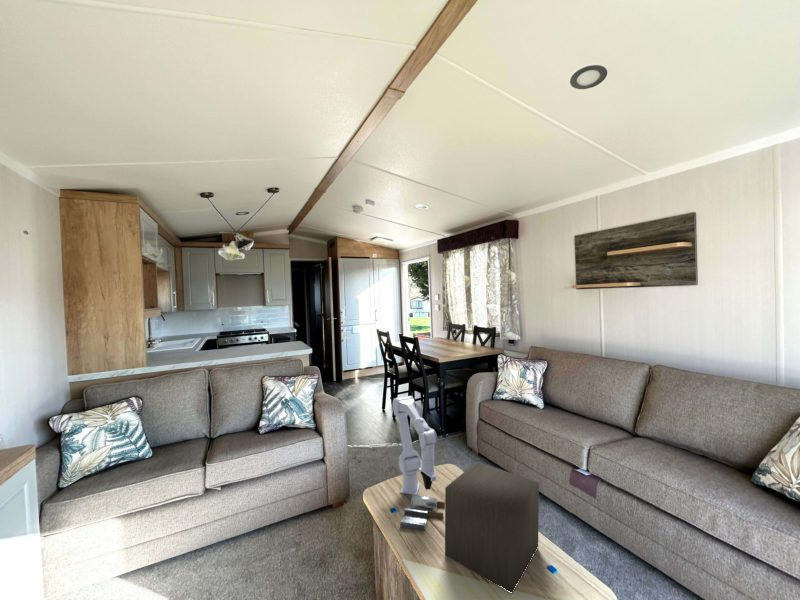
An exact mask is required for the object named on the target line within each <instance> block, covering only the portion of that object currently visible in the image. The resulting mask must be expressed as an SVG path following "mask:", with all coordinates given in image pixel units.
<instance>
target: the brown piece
mask: <svg viewBox="0 0 800 600" xmlns="http://www.w3.org/2000/svg"><path fill="white" fill-rule="evenodd" d="M437 507H443V508H445V500H437ZM427 511H428V517H434V518H440V519H443V518H444V511H431V510H427Z"/></svg>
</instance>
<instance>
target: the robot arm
mask: <svg viewBox="0 0 800 600" xmlns="http://www.w3.org/2000/svg"><path fill="white" fill-rule="evenodd" d="M391 404H392V410H393V416H395V417H396V419H397V424H398V429H399V434H400V435H399V436H400V440H401V447H402V451H401V453H400V455H399V456H398V468H399V471H400V472H401V473H402V487H401V489H400V494H406V495H411V496H412V495H418V493H419V491H420V487H421V483H419V472H420V474H421V476H422V482H423V485H424V489H425V491H427V490H431V487H432V485H433V482H436V481H437V476H436V468H435V449H436V448H435V444H436V443H437V442H438V435H437V432H436V431H435V429H433V428H432V427H430V426H429V425H428V423H427V422H426V420H425V419H424V417H421V416H420V414H419V413H418V411H417V409H416V403H415V399H414V397H413V396H412V395H409V396H408V395H407V396H401V397H395V398H393V400H392V403H391ZM408 417H409V418H410V419H411V420H412V421H413V423H412V425H413V428H414V429H415V431H416V434H417V435H418V440H419V447H420V448H421V453H420V454H419V452H418V451H416V450H415V449H414V446H413V442H412V436H411V431H410V430H411V429H410V425H409V420H408ZM420 455H421V456H420Z"/></svg>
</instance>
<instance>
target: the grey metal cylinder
mask: <svg viewBox="0 0 800 600" xmlns="http://www.w3.org/2000/svg"><path fill="white" fill-rule="evenodd" d="M437 501H438V498H437V497H431V496H424V495H418V494H417V495H412V494H411V499H410V509H415V510H422V511H427V510H431V511H437V510H438V506H437Z"/></svg>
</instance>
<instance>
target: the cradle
mask: <svg viewBox="0 0 800 600" xmlns="http://www.w3.org/2000/svg"><path fill="white" fill-rule="evenodd" d="M403 511H404V512H403V513H404V514H403V516H402V519H401V520H400V524H399V525H400V528H404V529H410V530H418V531H423V532H425V531H426V526H427V522H428V517H429V516H428V511H423V510H416V509H411V508H407V507H405V508H404V510H403Z"/></svg>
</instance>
